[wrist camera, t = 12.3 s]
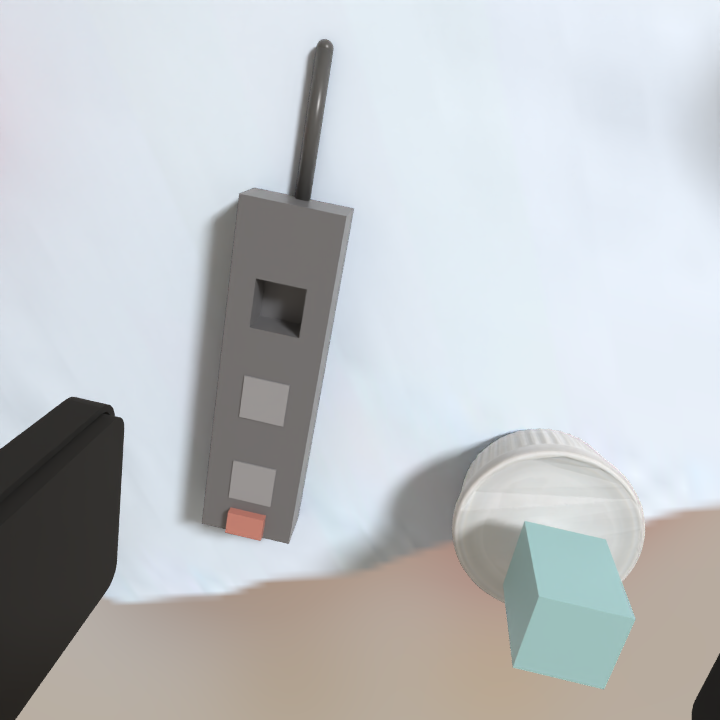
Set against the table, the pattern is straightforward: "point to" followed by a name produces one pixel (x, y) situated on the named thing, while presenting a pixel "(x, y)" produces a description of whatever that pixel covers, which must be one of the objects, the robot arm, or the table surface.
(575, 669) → the block
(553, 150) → the table surface
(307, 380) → the power strip
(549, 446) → the ramekin
